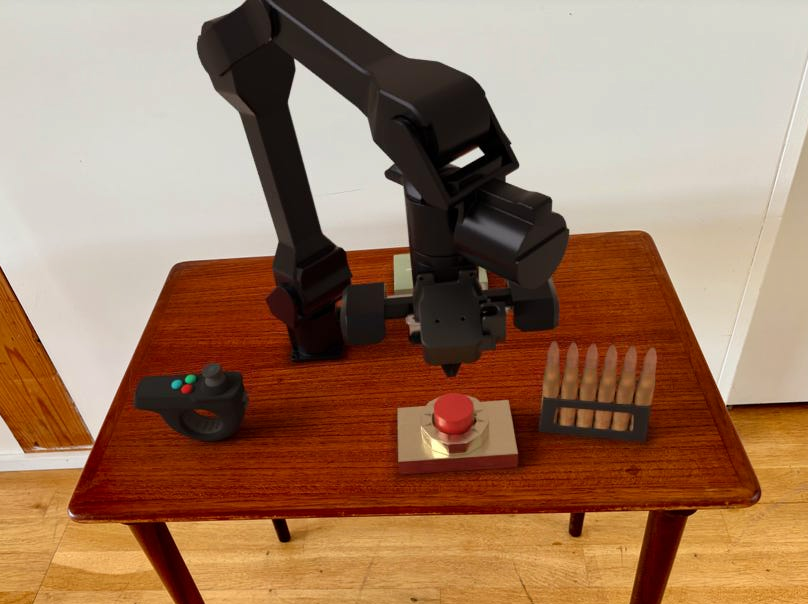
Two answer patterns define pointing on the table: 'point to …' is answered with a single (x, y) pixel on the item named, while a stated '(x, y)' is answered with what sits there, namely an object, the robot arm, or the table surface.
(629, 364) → the ammunition clip
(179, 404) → the controller
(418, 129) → the robot arm
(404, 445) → the button housing
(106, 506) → the table surface
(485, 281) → the dial panel
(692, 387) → the table surface
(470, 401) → the press knob
